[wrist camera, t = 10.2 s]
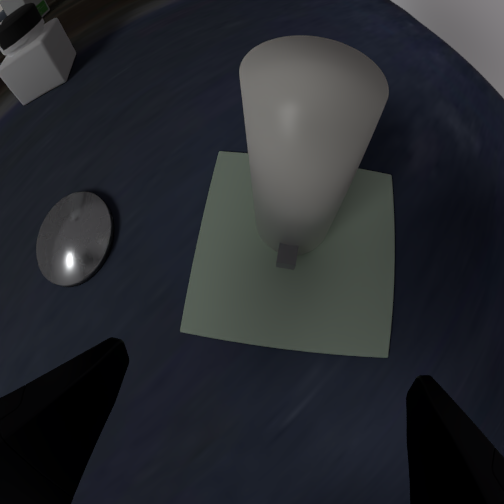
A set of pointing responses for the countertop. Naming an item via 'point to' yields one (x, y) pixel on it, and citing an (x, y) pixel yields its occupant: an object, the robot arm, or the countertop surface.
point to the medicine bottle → (33, 53)
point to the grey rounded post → (306, 134)
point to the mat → (294, 272)
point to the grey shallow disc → (75, 239)
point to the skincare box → (10, 3)
